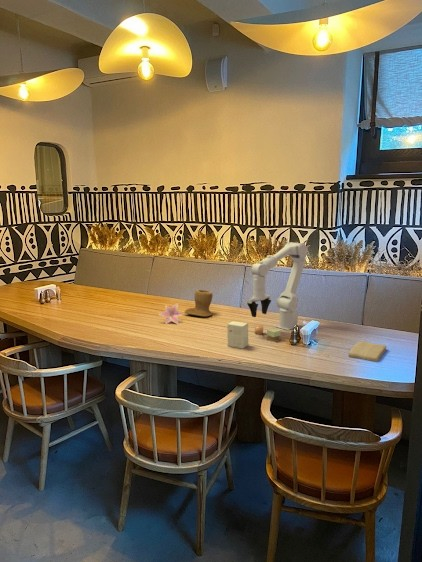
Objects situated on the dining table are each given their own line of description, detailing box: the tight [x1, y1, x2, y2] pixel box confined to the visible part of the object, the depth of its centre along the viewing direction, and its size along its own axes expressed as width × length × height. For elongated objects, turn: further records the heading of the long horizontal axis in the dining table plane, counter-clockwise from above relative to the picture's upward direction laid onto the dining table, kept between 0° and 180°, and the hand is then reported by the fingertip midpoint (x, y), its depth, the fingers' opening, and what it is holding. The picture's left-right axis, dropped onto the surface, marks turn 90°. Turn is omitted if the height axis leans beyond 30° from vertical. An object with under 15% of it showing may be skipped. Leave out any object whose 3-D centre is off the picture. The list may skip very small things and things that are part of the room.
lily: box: [158, 302, 184, 325], centre depth 226 cm, size 12×12×10 cm
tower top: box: [266, 327, 282, 337], centre depth 194 cm, size 4×4×2 cm
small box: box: [226, 321, 249, 349], centre depth 187 cm, size 8×6×10 cm
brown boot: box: [183, 289, 213, 317], centre depth 239 cm, size 15×12×15 cm
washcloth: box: [348, 341, 387, 362], centre depth 176 cm, size 12×18×3 cm, turn 147°
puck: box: [254, 325, 264, 336], centre depth 204 cm, size 4×4×4 cm
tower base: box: [266, 334, 281, 343], centre depth 195 cm, size 4×4×2 cm
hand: (259, 315), depth 203 cm, fingers open, 7 cm apart
